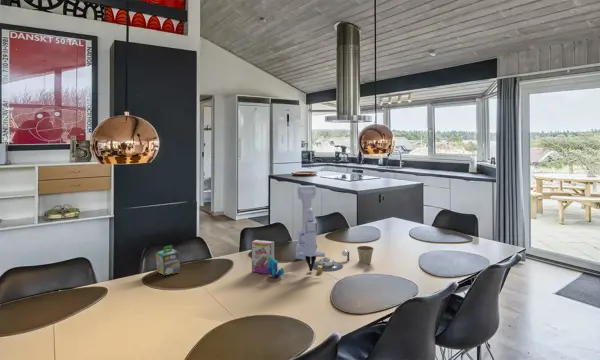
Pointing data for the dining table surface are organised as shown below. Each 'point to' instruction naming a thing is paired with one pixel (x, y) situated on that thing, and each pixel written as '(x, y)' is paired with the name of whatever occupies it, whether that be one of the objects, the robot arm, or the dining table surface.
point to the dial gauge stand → (346, 254)
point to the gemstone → (274, 270)
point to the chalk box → (167, 261)
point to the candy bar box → (261, 255)
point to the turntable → (320, 269)
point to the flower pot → (365, 254)
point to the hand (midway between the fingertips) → (310, 270)
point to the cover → (326, 262)
